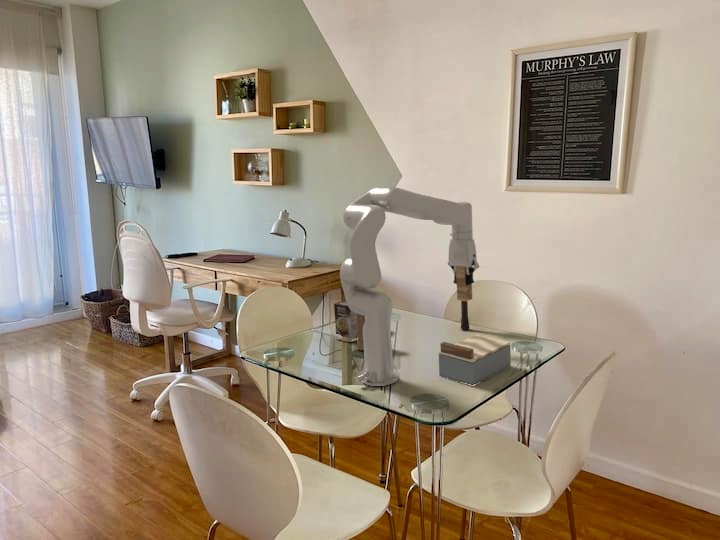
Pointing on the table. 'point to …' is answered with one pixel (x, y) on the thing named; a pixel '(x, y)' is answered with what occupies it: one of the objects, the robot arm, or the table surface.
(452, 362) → the grey open box
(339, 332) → the coffee box
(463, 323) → the stick grenade
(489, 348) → the lid
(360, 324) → the wooden block
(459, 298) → the brown wooden bar
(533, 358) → the table surface
